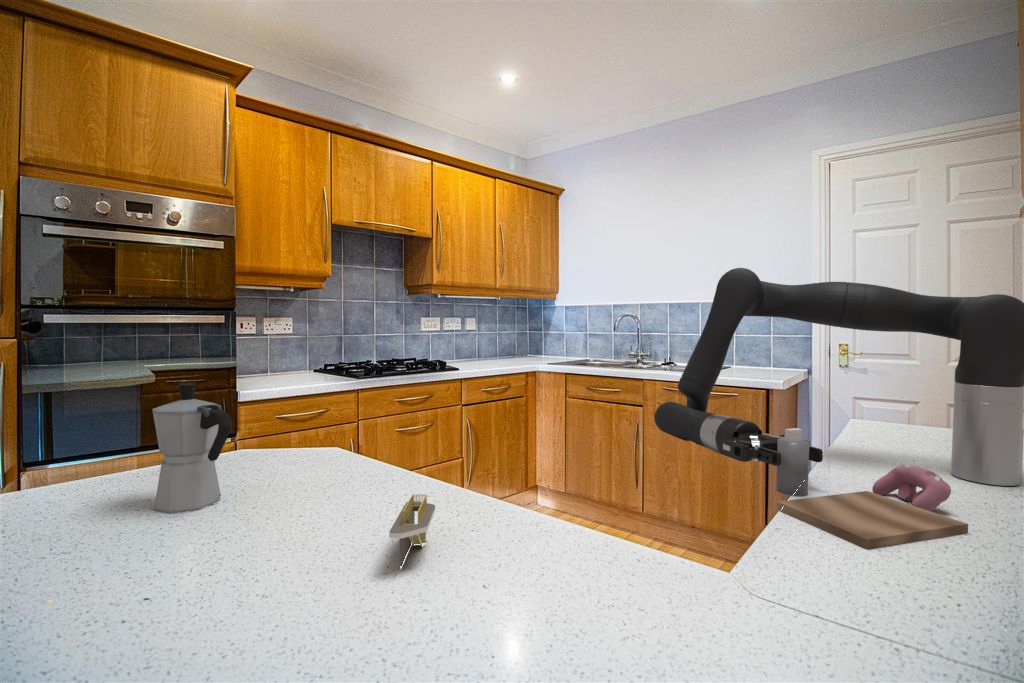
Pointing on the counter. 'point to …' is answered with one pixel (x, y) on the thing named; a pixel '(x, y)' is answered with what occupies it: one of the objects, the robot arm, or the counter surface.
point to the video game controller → (914, 486)
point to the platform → (412, 524)
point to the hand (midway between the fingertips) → (800, 457)
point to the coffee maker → (189, 451)
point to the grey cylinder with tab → (793, 464)
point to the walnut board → (871, 519)
